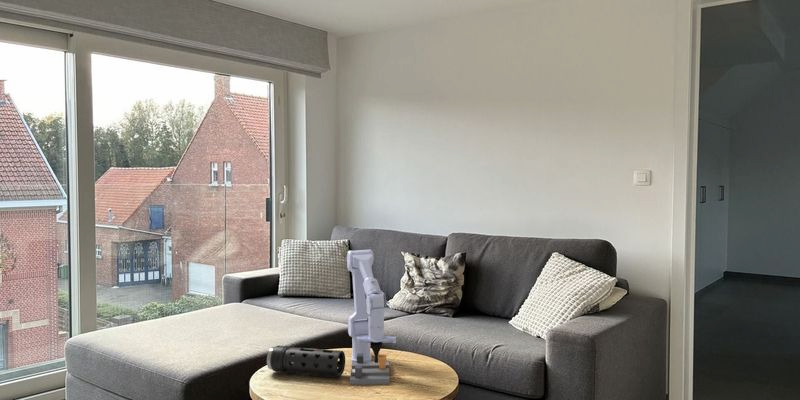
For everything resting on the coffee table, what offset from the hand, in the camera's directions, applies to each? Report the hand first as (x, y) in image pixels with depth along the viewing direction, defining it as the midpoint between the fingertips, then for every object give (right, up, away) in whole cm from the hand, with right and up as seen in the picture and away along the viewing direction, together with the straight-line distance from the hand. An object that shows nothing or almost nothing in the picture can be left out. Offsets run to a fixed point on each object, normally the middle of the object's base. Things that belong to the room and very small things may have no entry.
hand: (376, 362), depth 225 cm
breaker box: (-2, -5, 0) cm, 5 cm away
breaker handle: (+2, -3, 0) cm, 3 cm away
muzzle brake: (-26, -5, +1) cm, 27 cm away
